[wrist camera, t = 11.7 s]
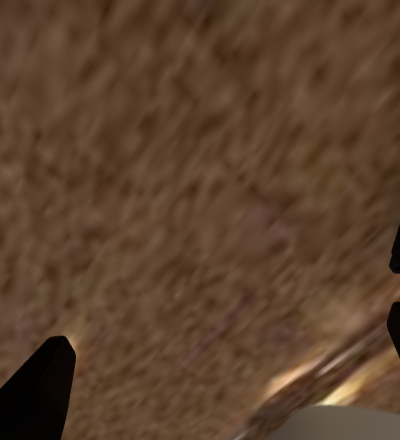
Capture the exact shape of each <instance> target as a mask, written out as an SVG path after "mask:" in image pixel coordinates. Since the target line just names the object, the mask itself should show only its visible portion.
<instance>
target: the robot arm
mask: <svg viewBox="0 0 400 440" xmlns="http://www.w3.org/2000/svg"><path fill="white" fill-rule="evenodd" d="M391 253H392V257H391V260H390V264H389V267H390V269H391V270H392V272H394V273H397V274H400V266H399V265H400V225H399V228H398V232H397V235H396V238H395V242H394V245H393V248H392V251H391ZM397 266H398V267H397ZM387 328H388V331H389V334H390V336H391V339H392V341H393V343H394V346H395V348H396V351H397V353H398V356H399V358H400V302H394V303H393V304H392V307H391V310H390V313H389V316H388V319H387ZM75 362H76V354H75V351H74V349H73V348H72V346H71V344H70V343H69V341H68V339H67V338H66V337H65V336H53V337H50V338H48V339H47V340H46V341H45V342H44V343H43V344H42V345H41V346H40V347H39V348H38V349H37V350H36V351H35V353H34V354H33V355H32V356H31V357H30V358H29V359H28V360H27V361H26V362H25V363H24V364H23V365H22V366H21V367H20V368H19V369H18V370H17V372H16V373H15V374H14V375H13V376H12V377H11V378H10V379H9V380H8V381H7V382H6V383H5V384H4V385H3V386H2V387H1V388H0V440H61V436H62V432H63V429H64V425H65V421H66V416H67V411H68V406H69V399H70V393H71V387H72V381H73V375H74V369H75Z"/></svg>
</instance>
